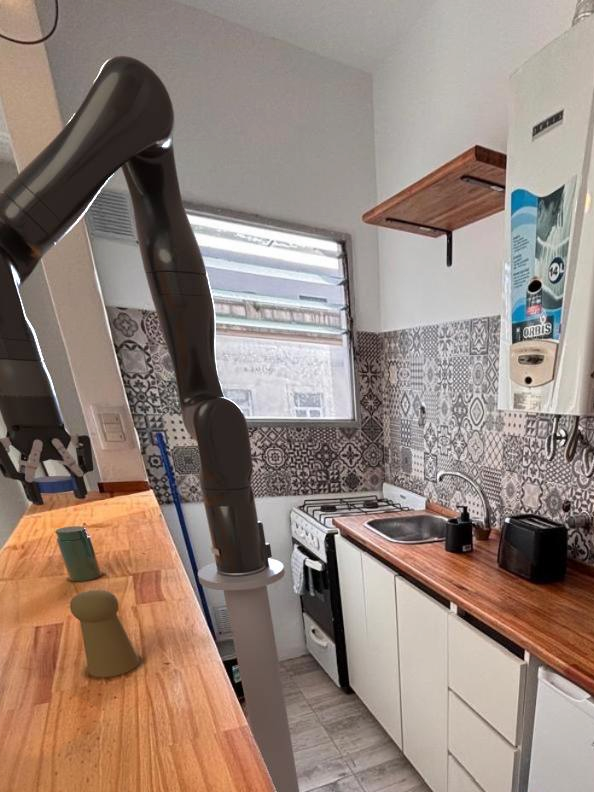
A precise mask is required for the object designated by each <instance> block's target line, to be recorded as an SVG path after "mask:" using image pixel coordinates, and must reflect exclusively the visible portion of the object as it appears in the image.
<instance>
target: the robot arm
mask: <svg viewBox="0 0 594 792" xmlns="http://www.w3.org/2000/svg"><path fill="white" fill-rule="evenodd" d="M175 119H176V118H175V110H174V106H173V102H172V99H171V95H170V93H169V91H168V90H167V87H166V85H165V84H164V82H163V81H162V79H161V78H160V77H159V76H158V74H157V73H156V72H155V71H154V69H152V68H151V67H150V66H149V65H147V64H146V63H144V62H143V61H141V60H139V59H137V58H135V57H132V56H127V55H119V56H118V55H117V56H114V57H110V58H108V60H106V61H105V62H104V63H103V65H102V66H101V68H100V70H99V73H98V75H97V76H96V78H95V79H94V81H93V84H92V86H91V87H90V88H89V91H88V92H87V94H86V96H85V97H84V99H83V100H82V102H81V104H80V105H79V107H78V108H77V110H76V111H75V113H74V114H73V115H72V116H71V118H70V120H69V121H68V122H67V123H66V124H65V126H64V127H63V128H62V129H61V131H60V132H59V133H58V134H57V135H55V138H53V140H52V141H50V142H49V144H48V145H46V147H45V148H44V149H43V150H41V151H40V153H38V154H37V155H36V156H35V158H33V159H32V160H31V161H30V162H29V163H28V164H27V165H26V166H25V167H24V168H23V169H22V170H21V171H20V172H19V173H18V174H17V175H16V176H15V177H13V179H12V180H11V181H10V182H9V183H8V184H7V185H6V186H5V187H4V188H3V189H2V191H0V414H1V418H2V420H3V423H4V426H5V428H6V435H5V437H2V438H0V472H1V474H2V475H3V477H4V478H6V479H11V480H15V481H19V482H20V483H21V486H22V488H23V491H24V495H25V497H26V500H28V502H31V503H32V504H33V505H35V506H39V507H40V506H43V505H45V503H44V502H45V501H44V499H43V496H42V493H40V490H39V487H38V484H37V482H34V478H36V477H35V476H36V472H37V469H38V468H39V463H41V462H42V463H43V462H46V461H50V460H51V461H56V462H57V463H58V464H60V465H61V466H62V467H63V468H64V469H65V470H66V471H65V472H67V473H68V474H69V476H72V477H75V480H76V482H77V486H78V489H77V490H75V491H72V492H73V495H74V497H75V499H78V500H85V499H86V498H87V497H86V496H88V488H87V485H86V482H85V478H84V477H85V476H84V475H86V474H87V473H89V472H90V473H91V472H93V471H94V462H93V461H94V460H93V451H92V445H91V444H92V443H91V437H90V436H88V435H87V434H81V433H80V434H79V433H76V434H70V433H69V431H68V430H67V429H66V427H65V421H64V418H63V415H62V412H61V408H60V405H59V400H58V398H57V395H56V389H55V386H54V384H53V380H52V378H51V375H50V373H49V371H48V369H47V366H46V363H45V361H44V357H43V354H42V350H41V348H40V344H39V340H38V337H37V334H36V332H35V329H34V327H33V326H32V323H31V322H30V321H29V319H28V317H27V316H26V313H25V309H24V306H23V302H22V298H21V295H20V293H19V289H20V288H21V287H22V286H23V285H24V284H25V283H26V282H27V280H28V279H29V278H30V276H32V273H33V272H34V271H35V270H36V268H37V267H38V265H39V264H40V262H41V260H42V259H43V258H44V256H45V255H46V254H47V253H48V252H49V251H51V250H52V249H53V248H55V246H56V245H57V244H58V243H60V241H61V240H62V239H63V238H64V237H66V235H67V234H68V233H69V232H70V231H71V230H72V229H73V228H74V227H75V226H76V224H77V223H78V222H79V221H80V220H81V219H82V217H83V216H84V215H85V214H86V212H87V211H88V209H89V208H90V207H91V205H92V204H93V202H94V201H95V199H96V198H97V196H98V195H99V194H100V192H101V191H102V189H103V188H104V186H105V185H106V184H107V183H108V181H109V180H110V179H111V178H112V177H113V175H114V174H116V173H117V171H119V170H120V169H121V171H122V173H123V176H124V179H125V182H126V185H127V188H128V193H129V196H130V199H131V204H132V205H131V206H132V211H133V217H134V224H135V230H136V236H137V242H138V247H139V251H140V256H141V262H142V265H143V271H144V274H145V279H146V281H147V285H148V288H149V293H150V296H151V300H152V303H153V307H154V309H155V313H156V316H157V319H158V323H159V326H160V330H161V333H162V336H163V339H164V342H165V345H166V349H167V352H168V354H169V358H170V360H171V364H172V368H173V372H174V378H175V383H176V389H177V395H178V402H179V408H180V414H181V419H182V423H183V426H184V428H185V430H186V431H187V433H188V435H189V436H190V438H191V439H193V440H194V441H195V442H196V443H197V444H196V445H197V449H198V454H199V460H200V469H199V471H198V475H197V476H198V480H199V486H200V490H201V491H200V492H201V496H202V502H203V506H204V510H205V515H206V519H207V520H206V521H207V526H208V530H209V535H210V541H211V546H210V549H211V550H210V551H211V553H212V554H213V556H214V560H215V561H214V562H216V566H217V572H218V573H219V574H220V575H224V576H230V577H239V576H248V575H253V574H257V573H259V572H262V571H263V570H265V568H266V567H269V561H268V558H270V559H271V558H272V557H273V555H272V549H271V548H272V547H271V544H270V543H268V542H266V535H265V531H264V524H263V522H262V521H259V519H258V518H259V517H258V512H257V506H256V499H255V493H254V487H253V481H252V475H253V471H254V470H253V469H254V464H253V454H252V447H251V439H250V438H251V437H250V431H249V425H248V422H247V418H246V416H245V414H244V412H243V410H242V409H241V408H240V407H239V406H238V404H236V403H235V402H234V401H233V400H231V399H229V398H226V396H225V394H224V391H223V388H222V384H221V380H220V377H219V372H218V368H217V367H218V366H217V359H216V336H217V335H216V331H217V329H216V310H215V304H214V303H215V302H214V299H213V294H212V289H211V285H210V280H209V277H208V276H209V275H208V272H207V269H206V264H205V260H204V258H203V255H202V252H201V249H200V245H199V243H198V240H197V237H196V235H195V232H194V230H193V227H192V225H191V223H190V220H189V217H188V215H187V212H186V209H185V205H184V202H183V198H182V194H181V189H180V182H179V177H178V171H177V165H176V159H175V150H174V134H175V133H174V132H175V125H176V120H175ZM70 443H71V445H72V446H73V447H74V448H75V453H76V460H77V461H76V460H75V458H74V457H73V456H72V455H71V453H70V452H69V451H68V448H69V446H70ZM10 445H11V446H12V447H13V448H14V449H15V450H17V451H18V452H19V454H18V455H19V456H18V460H17V463H18V469H17V467H16V466H15V464H14V462H13V461H12V459H11V457H10V455H9V453H10V451H11V448H10Z"/></svg>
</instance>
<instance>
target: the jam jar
mask: <svg viewBox="0 0 594 792" xmlns="http://www.w3.org/2000/svg"><path fill="white" fill-rule="evenodd" d="M54 533H55V534H56V536H57V538H56V539H55V540H56V543H57V546H58V548H59V552H60V555H61V559H62V561H63V563H64V566H65V569H66V572H67V575H68V578H69V581H72V582H88V581H91V580H92V581H93V580H96V579H98V578H100V577H102V570H101V567H100V564H99V561H98V558H97V555H96V551H95V548H94V545H93V541H92V539H91V536H90V535H89V534H88V530H87V529H86V527H85V526H80V525H74V526H73V525H72V526H65V527H60V528H57V529H56V530H55V531H54Z"/></svg>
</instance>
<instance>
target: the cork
mask: <svg viewBox="0 0 594 792" xmlns="http://www.w3.org/2000/svg"><path fill="white" fill-rule="evenodd" d="M119 605H120V603H119V600H118V598H117V597H116V596H115V595H114V593H112V592H111V591H108V590H104V589H95V590H88V591H84V592H81V593H78V594H76V595H74V596H73V597H72V598H71V600H70V602H69V609H70V612H71V614H72V615H73V617H74V618H75V619H77V620H78V621H79V622H80V628H81V629H80V630H81V634H82V640H83V648H84V653H85V659H86V665H87V671H88V674H89V675H90V676H92V677H94V678H110V677H114V676H115V677H116V676H120V675H122V674H126V673H128V672H130V671H133V670H134V669H135V668H136V667H138V666H139V664H140V658H139V656H138V654H137V652H136V650H135V648H134V646H133V644H132V642H131V639H130V638H129V636H128V634H127V632H126V630H125V628H124V626H123V623H122V622H121V620H120V617H119V615H118V612H119Z"/></svg>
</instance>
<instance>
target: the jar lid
mask: <svg viewBox="0 0 594 792" xmlns="http://www.w3.org/2000/svg"><path fill="white" fill-rule="evenodd" d="M34 482H37V484H38V487H39V490H40V493H41V494H60V493H61V494H62V493H69V492H73V491H75V490H77V489H78V486H77V482H76V480H75V477H72V476H71V475H49V476H48V475H47V476H40V477H34Z"/></svg>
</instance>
